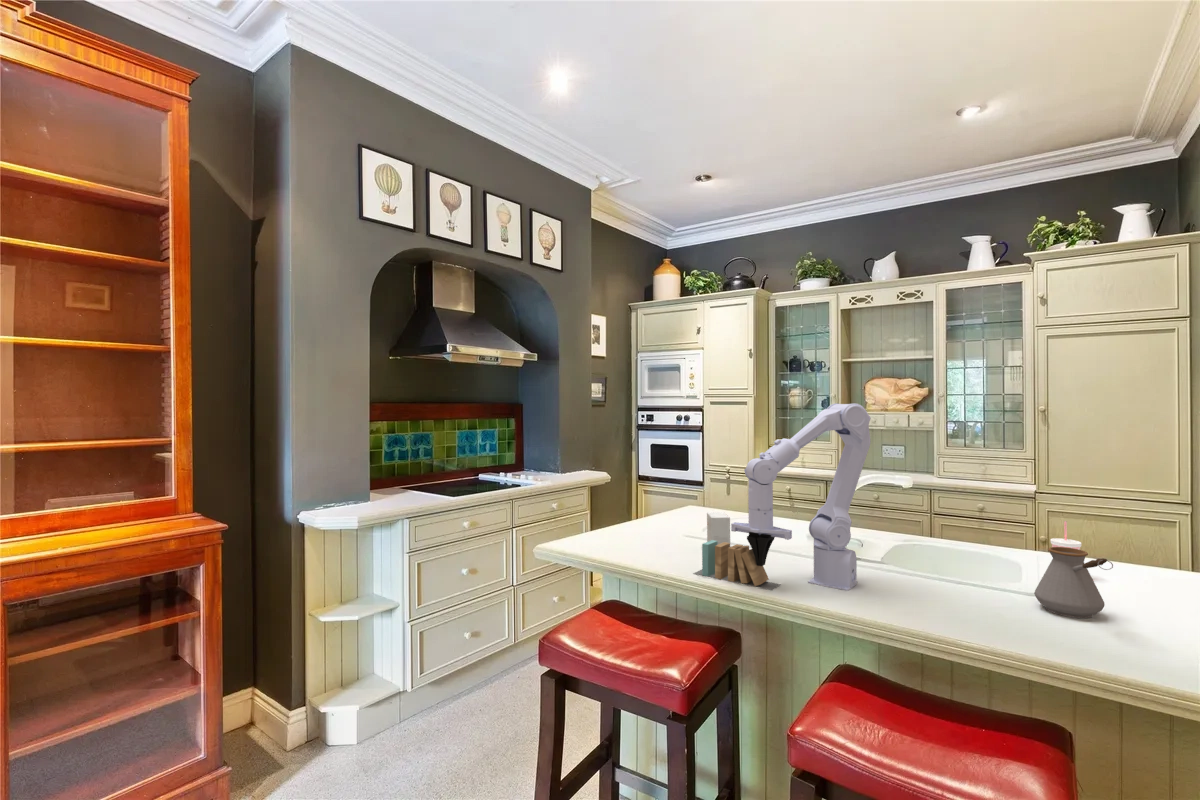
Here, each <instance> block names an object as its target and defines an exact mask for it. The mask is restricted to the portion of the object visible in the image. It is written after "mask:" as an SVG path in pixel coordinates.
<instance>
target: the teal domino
mask: <svg viewBox="0 0 1200 800" xmlns="http://www.w3.org/2000/svg"><path fill="white" fill-rule="evenodd" d="M716 545H718V541H714V540H711V541H708V542H707V541H706V542H703V543H701V546H702V549H701V551H702V554H701V556H702V557H701V560H702V561H701V562H702V564H701V565H702V566H701V568H702V569H701V570H702V575H703V576H702V577H705V576H710V575H712V574H715V546H716Z"/></svg>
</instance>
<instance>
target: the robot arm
mask: <svg viewBox="0 0 1200 800" xmlns="http://www.w3.org/2000/svg"><path fill="white" fill-rule="evenodd" d="M871 418H872V417H871V416H870V414H869V413H868V412H867V410H866V409H865V407H864V406H863V405H862V404H860V403H855V402H854V403H838V402H837V403H832V404H830V405H829V406H828V407H826V408H825V409H823V410H820V412H819V413H818V414H817V416H815V417H814V418H813V419H811V420H810V421H809V422H807V424H806V425H804V426H803V427H802V428H801V429H800V430H799V431H798V432H797V433H795V434H794V435H793V436H792V437H791V438H784V437H783V438H782V439H778V438H777V439H776V440H774V441H773V444H774V445H772V446H771V447H769V448H768V449H767V450H766V451H765V452H764V451H763V452H762V451H761V452H760V453H758V456H759V457H756V458H752V459H751V460H749V461H748V462H747V463H746V467H745V468H744V474H745V477H746V478H747V480H748V491H747V492H748V494H747V495H748V503H747V504H748V523H745V522H732V523H730V532H733V533H734V532H740V533H746V534H748V535H747V536H746V540H747V542H748V544H749V547H751V549H752V550H753V553H754V556H755V560H756V565H758V566H763V567H764V566H765V565H766V561H767V557H768V554H769V551H770V548H771V546H772V543H774V542H773V541H774V540H775V539H776V538H778V539H784V540H787V541H789V540H791V539H793V531H792V529H786V528H784V527H783V528H782V527H778V526H774V489H773V488H774V487H773V486H774V485H773V483H774V482H775V481H776V479H777V477H778V473H780V472H781V471H782V470H783V469H785V468H786V467H787V466H789V465H790V464H791V463H793V462H794V461H795V460H797V458H799V456H800V451H801V449H803V448H804V447H806V446H807V445H808V444H810V443H811V442H812V441H814V440H816V439H817V438H819V437H820V436H822V435H823V434H824V433H826V432H829V431H830V432H831V431H834V432H835V433H836V434H838V435H839V437H840V438H841V440H842V442H843V443H844V446H843V450H842V452H841V455H840V458H839V461H838V464H837V467H836V470H835V474H834V475H833V479H832V483H831V486H830V488H829V492H828V495H827V497H826V500H825V503H824V505H822V506H821V507H820V508H818V509H817V512H816V514H815V516H814V517H812V519H811V521H810V522H809V525H808V532H809V534H810V536H811V537H812V538H813V577H812V578H810V579H809V580H808V581H807V584H811V585H816V586H822V587H827V588H832V589H838V590H843V591H846V592H847V591H850V590H851V589H853V588H854V586H856V585H857V584H858V580H857V577H858V576H857V575H858V573H857V571H858V569H857V565H858V563H857V560H858V559H857V553H856V551H855V550H853V549H848V548H847V545H849V543H850V542H851V538H852V534H851V527H852V519H851V517H850V514H849V510H850V507H851V504H852V501H853V497H854V496H855V493H856V492H855V491H856V490H857V486H858V482H859V479H860V477H861V473H862V471H863V468H864V465H865V461H866V459H867V456H868V453H869V449H870V446H871V434H870V422H871Z"/></svg>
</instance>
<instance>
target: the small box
mask: <svg viewBox="0 0 1200 800" xmlns="http://www.w3.org/2000/svg"><path fill="white" fill-rule="evenodd" d="M706 533H707V534H706V535H707V537H706V542H708V541H711V540H714V541H718V544H721V543H723V542H727V543H730V544H731V517H730V516H729V515H727V514H726V513H725V512H707V513H706Z"/></svg>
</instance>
